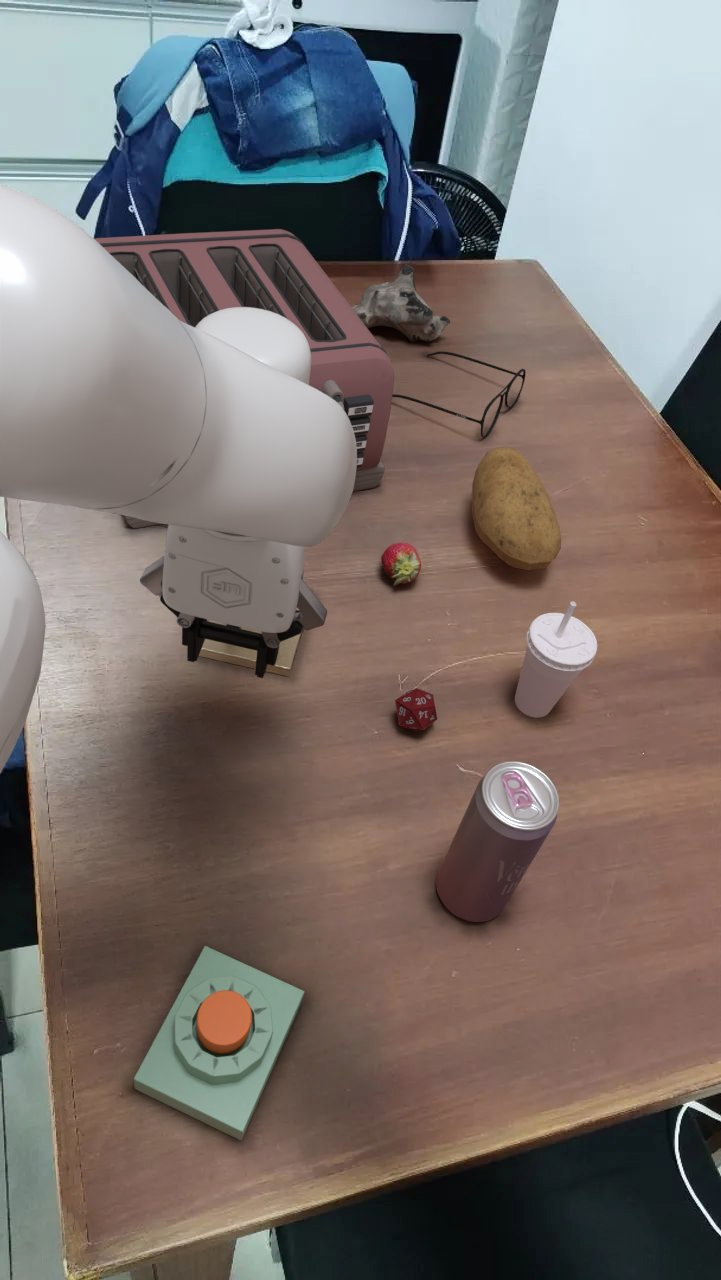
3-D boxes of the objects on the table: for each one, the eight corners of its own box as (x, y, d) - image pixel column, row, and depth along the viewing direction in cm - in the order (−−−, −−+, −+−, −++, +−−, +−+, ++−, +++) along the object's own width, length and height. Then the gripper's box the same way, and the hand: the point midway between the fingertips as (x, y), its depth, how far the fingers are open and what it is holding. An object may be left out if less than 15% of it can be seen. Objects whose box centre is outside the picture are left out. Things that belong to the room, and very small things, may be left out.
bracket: (289, 676, 87) (305, 565, 76) (197, 655, 87) (200, 541, 76) (312, 597, 94) (330, 485, 84) (227, 578, 94) (234, 463, 84)
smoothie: (499, 673, 91) (540, 574, 81) (560, 681, 92) (609, 583, 82) (503, 725, 87) (547, 627, 77) (568, 732, 88) (620, 636, 77)
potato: (483, 593, 99) (507, 529, 92) (450, 499, 109) (468, 434, 102) (557, 592, 101) (585, 529, 94) (517, 499, 111) (540, 436, 104)
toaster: (138, 560, 94) (132, 420, 82) (60, 364, 115) (46, 228, 102) (398, 512, 106) (428, 383, 93) (285, 341, 126) (297, 216, 113)
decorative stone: (338, 342, 126) (350, 267, 121) (331, 323, 134) (342, 251, 128) (449, 356, 130) (465, 283, 124) (436, 337, 137) (451, 267, 131)
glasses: (479, 445, 117) (485, 411, 113) (377, 410, 122) (380, 376, 118) (522, 397, 126) (528, 363, 122) (426, 366, 131) (429, 333, 127)
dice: (400, 745, 84) (408, 719, 81) (386, 706, 86) (393, 680, 84) (438, 739, 85) (448, 713, 82) (423, 701, 88) (431, 675, 85)
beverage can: (488, 851, 78) (540, 751, 67) (517, 915, 74) (577, 822, 63) (424, 866, 76) (466, 766, 65) (450, 933, 72) (500, 840, 61)
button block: (241, 1141, 60) (244, 1125, 58) (134, 1088, 62) (132, 1070, 59) (301, 1001, 67) (307, 981, 64) (204, 957, 68) (205, 934, 65)
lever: (257, 657, 75) (258, 641, 73) (198, 644, 75) (198, 627, 73) (296, 531, 83) (298, 513, 81) (243, 519, 83) (243, 501, 81)
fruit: (411, 555, 101) (420, 522, 97) (421, 595, 97) (430, 561, 93) (373, 555, 100) (381, 521, 96) (382, 594, 96) (390, 560, 93)
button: (235, 1063, 60) (236, 1054, 59) (186, 1040, 61) (187, 1031, 59) (259, 1012, 63) (260, 1003, 61) (212, 990, 63) (212, 981, 62)
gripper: (102, 496, 61) (115, 667, 74) (351, 553, 61) (319, 714, 74) (139, 431, 66) (145, 603, 79) (369, 484, 66) (337, 647, 79)
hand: (230, 655), depth 77 cm, fingers closed on lever, 5 cm apart
